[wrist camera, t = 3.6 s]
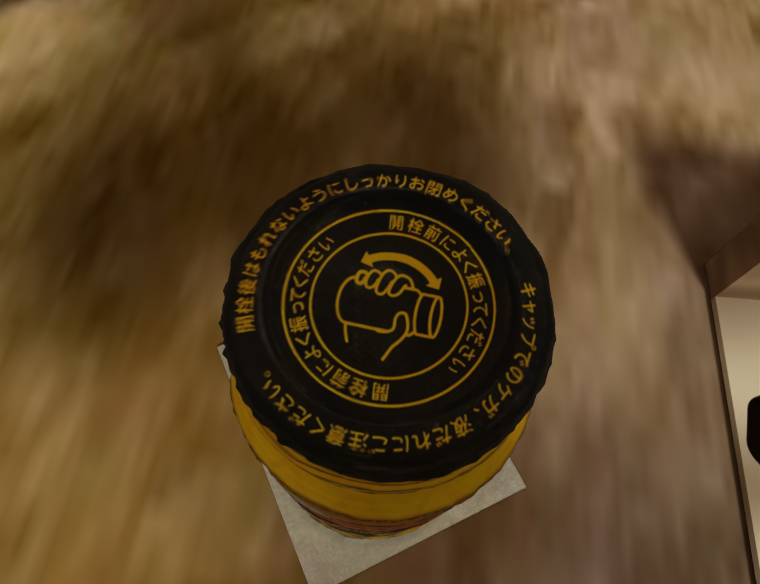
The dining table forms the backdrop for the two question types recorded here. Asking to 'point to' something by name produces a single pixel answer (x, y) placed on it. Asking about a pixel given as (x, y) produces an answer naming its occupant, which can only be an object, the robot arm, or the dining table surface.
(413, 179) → the condiment
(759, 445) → the robot arm
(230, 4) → the dining table surface
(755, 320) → the corner arena
